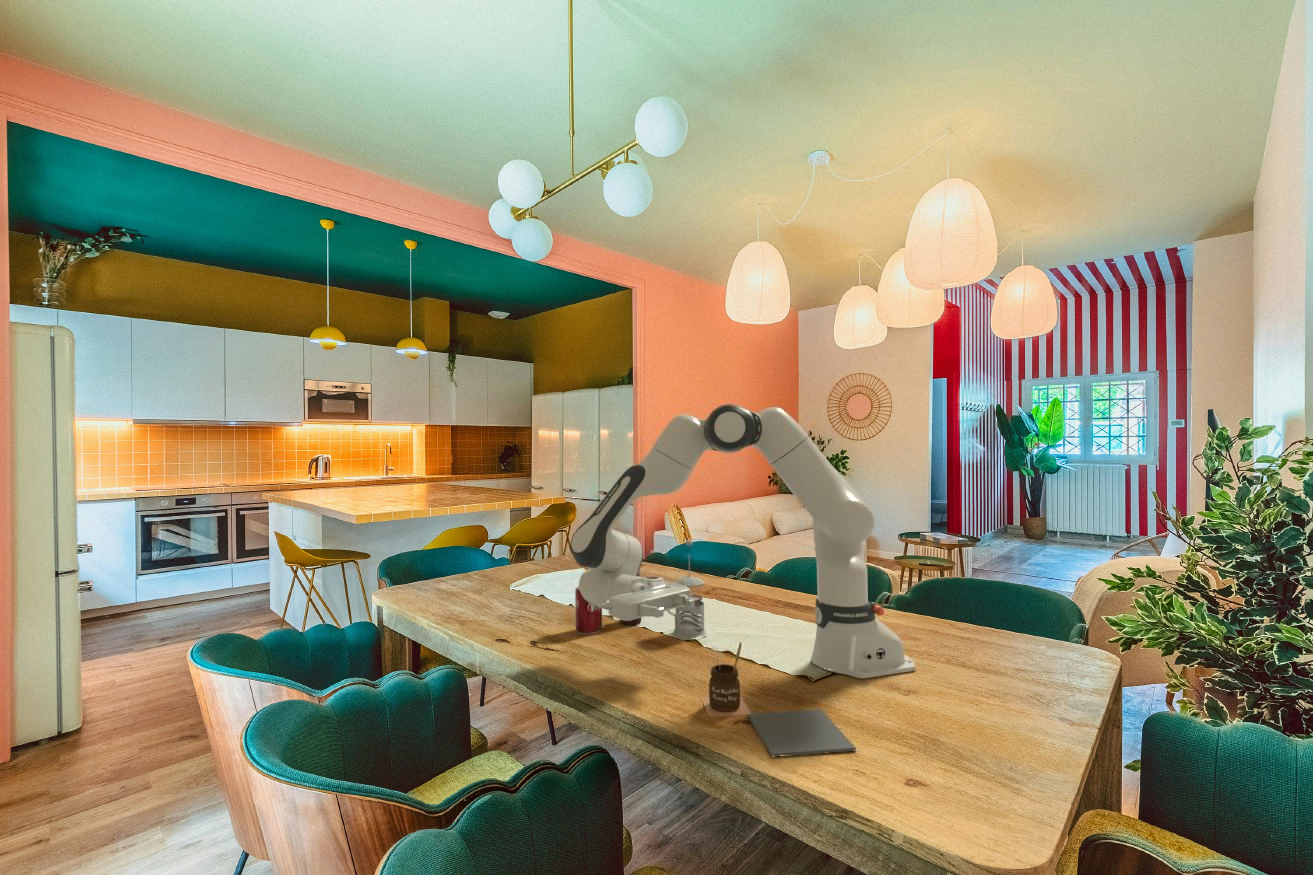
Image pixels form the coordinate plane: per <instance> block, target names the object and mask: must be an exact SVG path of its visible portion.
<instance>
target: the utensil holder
mask: <svg viewBox="0 0 1313 875" xmlns="http://www.w3.org/2000/svg"><path fill="white" fill-rule="evenodd" d="M742 645H743V644H742V642H741V641H740V642H739V644H738V648H737V652H736V655H735V663H734V665H731V664H726V663H725V664H723V663H722V662H720V663H719V664H717V663H715V664H716V665H714V664H713V660H712V659H711V658H708V659H709V661H710V663H711V664H710V665H711V669H710V675H711V677H710V678H709V683H708V694H709V695H708V698H709V701H710V706H711V707H712V708H713V709H715V710H717V711H722V712H731V711H735V710H737V709H738V708H739V706H740V696H741V681H740V679H739V677H738V676H739V671H738V668H737V664H738V661H739V658H740V655H741V649H742ZM715 649H716V651H717V653H718V655H719V656H718V657H719V660H720V661H723V660H722V657H721V654H722V653H720V652H719V651H720V649H718V648H717V647H716V646H715V647H711V648H710V649H709V651H708V654H707V655H709V657H711V656H712V654H711V653H712V650H713V651H714V650H715ZM713 654H714V656H716V655H715V653H713ZM714 660H715V661H717V659H716V658H714Z"/></svg>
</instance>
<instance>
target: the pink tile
mask: <svg viewBox="0 0 1313 875" xmlns="http://www.w3.org/2000/svg"><path fill="white" fill-rule="evenodd" d="M700 700H701V702H702V705H703V707H704V709H705V710H706V714H707V715H708V717H709V718H719V717H721V718H722V717H735V716H738V717H739V716H748V714H752V713H751V711H750V709H749V707H748V706H747V704H746V703H745V701H744V699H743V698H742V696H741V695H740V706H739V708H738V709H737V710H735V711H731V712H722V711H717V710H715V709H713V708H712V707H711V706H710V701H709V697H701V698H700Z"/></svg>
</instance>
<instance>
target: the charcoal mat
mask: <svg viewBox="0 0 1313 875" xmlns="http://www.w3.org/2000/svg"><path fill="white" fill-rule="evenodd" d="M747 718H748V720H749V721H750V723H751V725H752V726H753V728H754V730H755V732H756V733H757V735H758V736H759V738H760V740H761V741H762V743H763V745H764V747H765V748H766V747H767V748H766V750H767V749H768V750H767V751H768V753H769V752H770V753H769V755H770V754H771V755H772V756H780V755H800V756H806V755H805V754H814V755H817V754H816V753H825V752H841V753H846V752H845V751H854V750H855V752H856V751H857V750H856V746H855V745H854V744H853V743H852V742H851V741H850V740H849V738H848V737H847V736H846V735H845V734H844V733H843V732H842V731H841V730H840V729H839V727H838V726H837V725H836V724H835V723H834V722H833V721H832V720H831V718H829V716H828V715H827V714H826V713H825V712H824V711H823V710H822V709H821V708H819V709H804V710H803V709H802V710H788V711H776V712H775V711H773V712H772V711H770V712H759V713H758V712H756V713H751V714H748V715H747ZM843 751H844V752H843ZM803 754H804V755H803ZM771 755H770V756H771ZM772 756H771V757H772Z"/></svg>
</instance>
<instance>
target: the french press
mask: <svg viewBox="0 0 1313 875" xmlns="http://www.w3.org/2000/svg"><path fill="white" fill-rule="evenodd" d="M685 545H686V546H693V545H694V544H693V541H692V540H689V539H688V540H686V542H685ZM690 564H691V562H690V555H688V575H687V576H682V577H679V578H678V579H676V580H675V581H673V582H674V583H677V584H680V585H684V586H686V587H688V588H689V589H690V590H691V588H699V587H703V586H704V585H705V583H706V582H705V581H704V580H702V579H701V578H699V577H696V576H692V575H691V574H690V573H691V572H690V570H691V569H690V567H691V566H690ZM691 599H693V600H694V601H695V607H694V608H690V609H688V608H684V606H681V607H678V608H675V613H674V612H673V611H671V610H667V611H666V612H667V613H668V614H669V615H671V616H673V617H674V629H673V631H672V632H673V633H671V635H672V637H674V638H676V639H680V640H685V641H686V640H687V641H688V640H689V641H695V640H694V639H692V638H696V637H699V636H704V635H706V632H707V631H706V630H705V603H704V601H702V600H703V599H704V597H703V596H701V595H700V594H693V593H691Z"/></svg>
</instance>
